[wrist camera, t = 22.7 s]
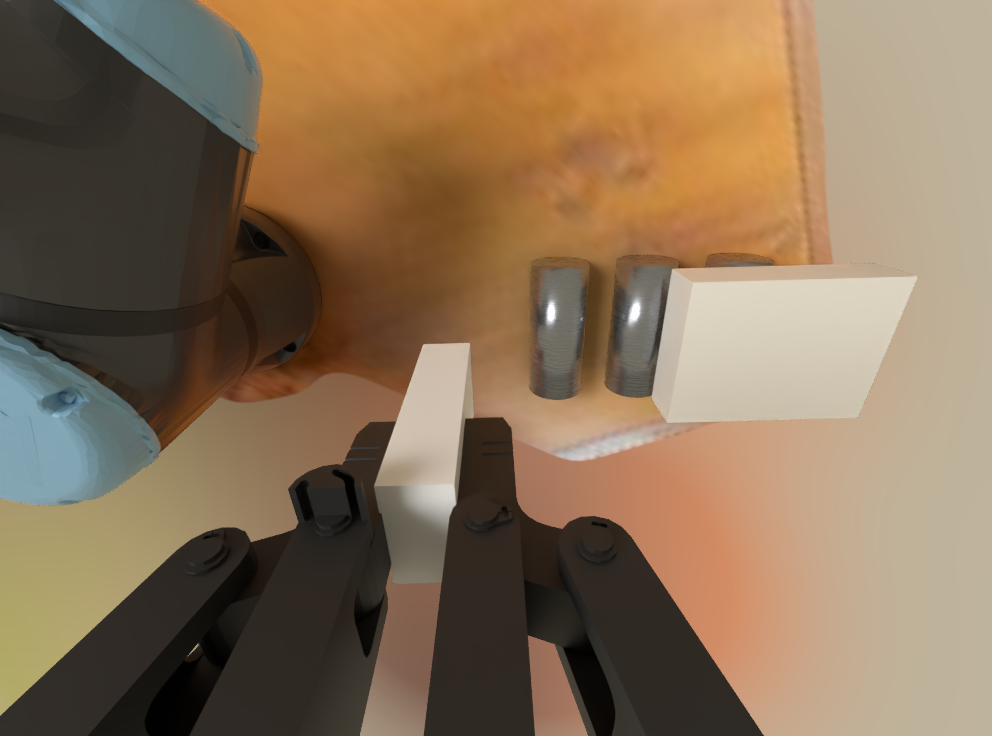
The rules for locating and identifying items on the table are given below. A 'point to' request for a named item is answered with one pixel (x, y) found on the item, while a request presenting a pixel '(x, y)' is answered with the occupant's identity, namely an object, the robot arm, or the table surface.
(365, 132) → the table surface
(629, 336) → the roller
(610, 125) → the table surface
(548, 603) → the robot arm
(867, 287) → the slab
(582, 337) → the cylinder
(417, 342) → the table surface
